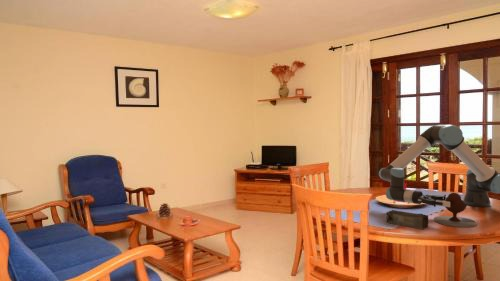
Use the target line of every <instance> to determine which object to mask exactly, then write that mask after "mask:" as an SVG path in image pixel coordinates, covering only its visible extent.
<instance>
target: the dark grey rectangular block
mask: <svg viewBox="0 0 500 281" xmlns="http://www.w3.org/2000/svg"><path fill="white" fill-rule="evenodd" d="M386 223H387V224H392V225H398V226H402V227H408V228H415V229H419V230H424V229H426V228H429V215H428V214H423V213H416V212H415V213H413V212H407V211H402V210H401V211H400V210H394V209H392V210H389V211H386Z"/></svg>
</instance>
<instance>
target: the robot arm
mask: <svg viewBox="0 0 500 281" xmlns="http://www.w3.org/2000/svg"><path fill="white" fill-rule="evenodd" d="M437 144H438V145H441V146H442V147H444V149H445V150H447V151H451V152H452V153H453V154H454V155H455V156H456V157H457V158H459V160H460V161H461V162H462V163H463V164H464V165H465V166H466V167H467V168H468V169H467V171H466V191H465V194H464V197H463V199H462V200H463V201H464V203H467V206H472V207H483V208H484V207H485V208H486V207H490V206H491V203H492V202H491V200H490V197H489V194H488V192H490V193H493V194H500V172H498V171H497V170H496V169H495V168H494V167H492V166H489V165H488V164H487V163H485V161H484V160H483V159H482V158H481V157H480V156H479V155H478V154H477V153H476V152H475V150H473V149H472V148H471V147H470V145H468V144H467V143H466V142H465V137H464V135H463V131H462V129H461V128H460V127H459V126H457V125H454V124H434V125H431V126H430V127H428V128H427V129H425V130H424V131H422V133H421V134H420V135H418V136H417V140H416V141H415V142H413V143H412V144H411V145H410V146H409V147H407V149H405V150H404V151H403V152H402V153H401V154H400V155H398V157H396V159H394V160H393V161H392V162H391V163H390V164H389V165H387V166H386V167H382V168H380V170H379V171H378V176H379V178H380V179H382V180H383V181H386V182H389V183H390V186H389V187H387V188H386V190H385V197H386V198H387V199H388V200H390V201H394V202H396V201H397V202H401V203H402V202H403V203H407V204H415V205H421V204H425V205H429V206H432V207H435V208H436V207H437V206H438V207H450V202H447V201H446V198H447V197H448V196H447V195H446V194H443V195H442V194H429V193H427V194H423V191H421V190H416V189H415V190H414V189H407V188H406V189H405V175H406V174H405V168H407V166H409V165H410V163H412V162H413V161H414V160H416V159H417V158H418V157H419V156H420V155H421V154H422V153H424V151H425V150H427V149H430V148H432V146H434V145H437Z"/></svg>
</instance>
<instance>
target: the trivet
mask: <svg viewBox="0 0 500 281" xmlns="http://www.w3.org/2000/svg"><path fill="white" fill-rule="evenodd" d="M452 217H453V215H438V216H437V215H436V216H434V217H433V221H434V222H435V223H437V224H440V225H444V226H448V227H454V228H474V227H477V225H478V223H477V221H475V220H473V219H471V218H467V217H462V216H457V218H458V219H460V222H454V221H450V220H449V218H452Z"/></svg>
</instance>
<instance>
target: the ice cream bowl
mask: <svg viewBox="0 0 500 281" xmlns="http://www.w3.org/2000/svg"><path fill="white" fill-rule="evenodd" d="M446 201H447V202H450V207H445V209H446V210H447V211H448V212H450V213H452V216H453V217H452V218H449V220H450V221H454V222H460V219H458V218H457V217H458V216H457V215H458V214H459V213H462V212H464V211H465V210H466V209H467V206H468V205H467V203H464V201H463V199H462V197H461V195H460V194H459V193H458V192H457V193H456V192H452V193H449V194H448V196H447V198H446Z"/></svg>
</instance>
